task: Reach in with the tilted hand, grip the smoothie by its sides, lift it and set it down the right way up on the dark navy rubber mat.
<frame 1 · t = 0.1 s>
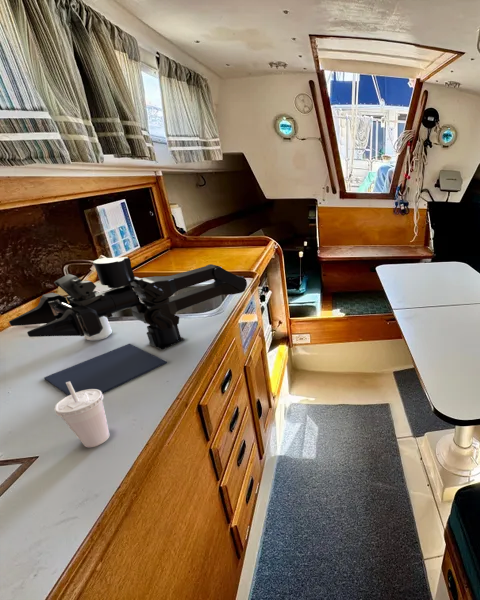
hand: (18, 329, 67), 17 cm above the worktop, tool horizontal, fingers open, 9 cm apart
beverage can: (99, 337, 96), on the worktop
mat: (108, 370, 81), on the worktop
smoothie: (97, 440, 62), on the worktop
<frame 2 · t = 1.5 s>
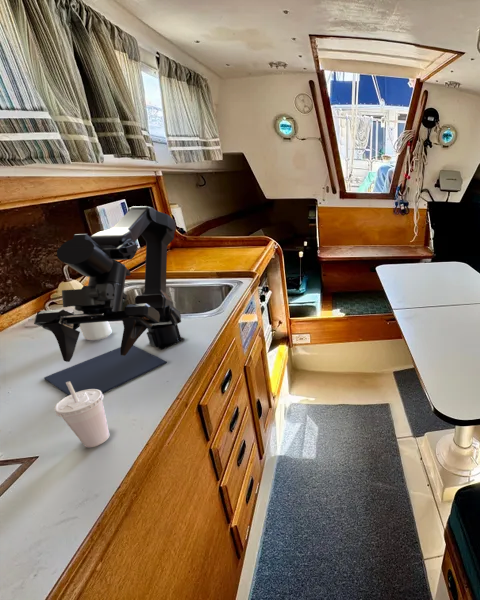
hand: (95, 358, 63), 13 cm above the worktop, tool tilted 45°, fingers open, 9 cm apart
nothing on the worktop moved.
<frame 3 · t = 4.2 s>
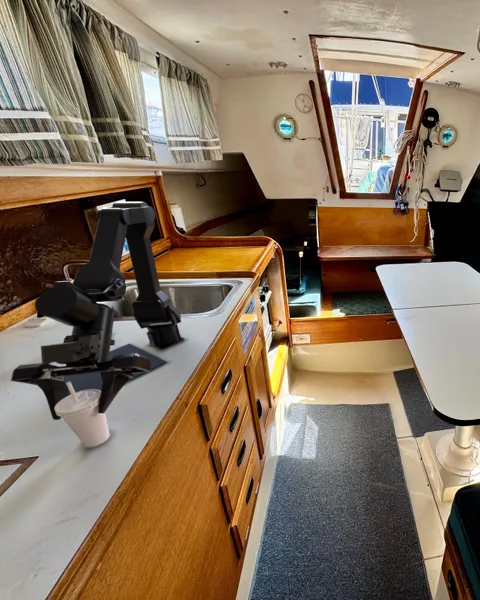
hand: (79, 416, 58), 7 cm above the worktop, tool tilted 45°, fingers closed on smoothie, 6 cm apart
smoothie: (97, 440, 62), on the worktop, touching gripper
everything else where it was.
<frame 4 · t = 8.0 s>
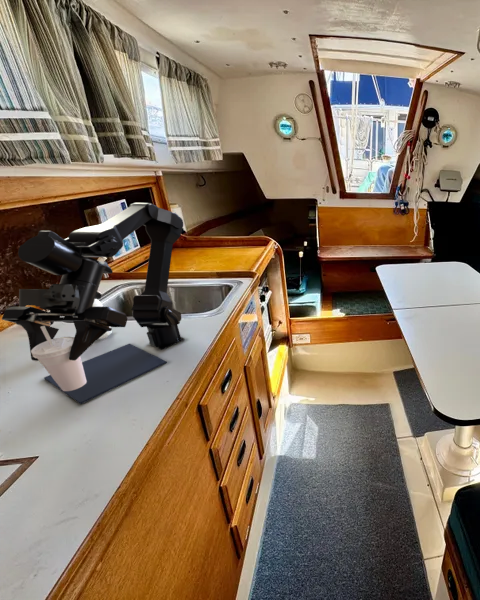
hand: (53, 360, 61), 14 cm above the worktop, tool tilted 45°, fingers closed on smoothie, 6 cm apart
smoothie: (74, 385, 65), point 7 cm above the worktop, touching gripper
everything else where it was.
when the fingers open (8 cm above the worktop, at t = 11.7 s): smoothie stays where it is, resting on mat.
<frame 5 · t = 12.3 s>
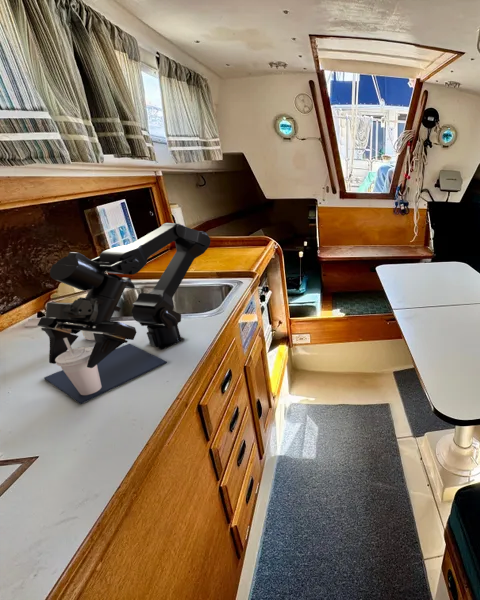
hand: (70, 365, 69), 8 cm above the worktop, tool tilted 45°, fingers open, 9 cm apart
smoothie: (91, 390, 74), resting on mat
everything else where it was.
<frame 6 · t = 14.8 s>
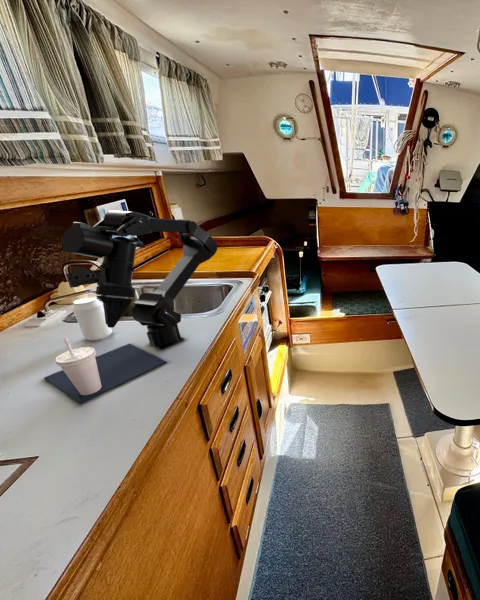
hand: (109, 325, 77), 12 cm above the worktop, tool tilted 25°, fingers open, 9 cm apart
nothing on the worktop moved.
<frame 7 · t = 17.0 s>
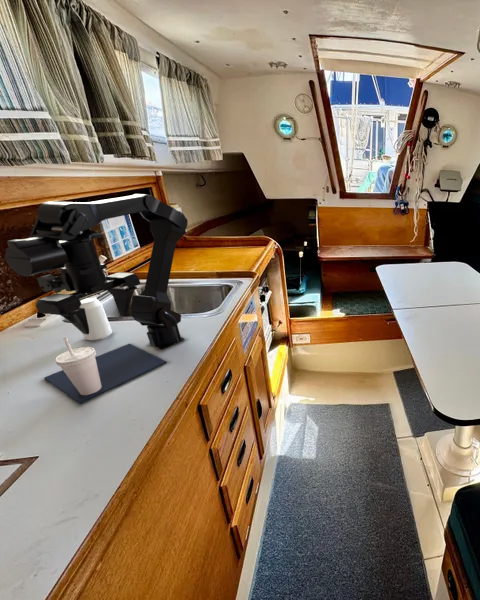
hand: (106, 324, 77), 13 cm above the worktop, tool pointing down, fingers open, 9 cm apart
nothing on the worktop moved.
at the end: smoothie inside the target area on the mat (7.2 cm from its centre), point 0.3 cm above the mat's base; smoothie tilted 0°; the gripper is holding nothing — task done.
